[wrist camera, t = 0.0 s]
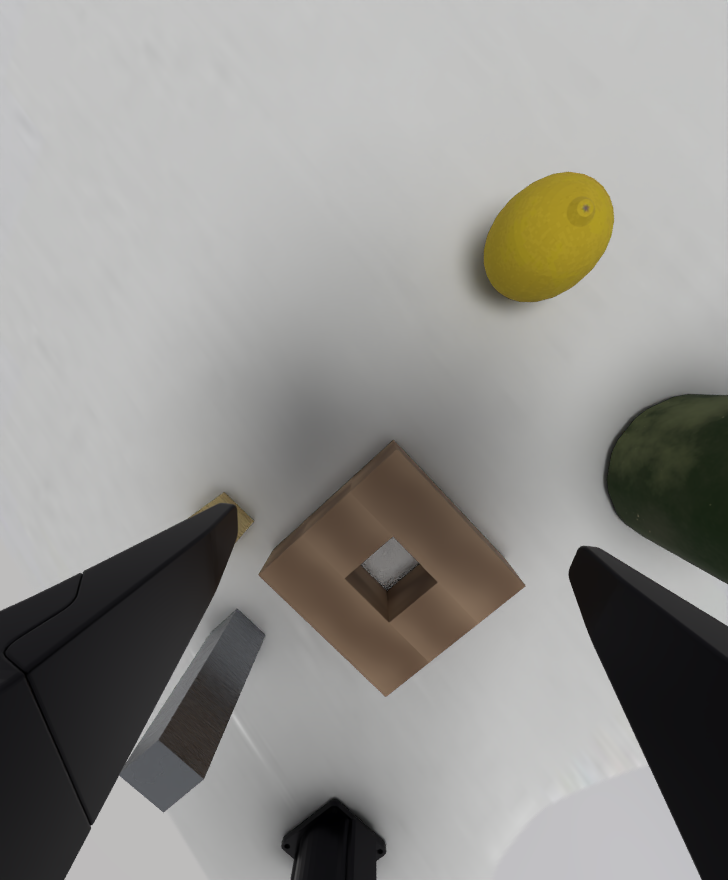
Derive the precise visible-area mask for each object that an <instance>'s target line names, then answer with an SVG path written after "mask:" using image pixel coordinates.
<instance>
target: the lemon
mask: <svg viewBox="0 0 728 880" xmlns="http://www.w3.org/2000/svg"><path fill="white" fill-rule="evenodd" d="M613 223H614V212H613V206H612V203H611V200H610V196H609V195H608V193H607V192H606V190H605V189H604V187H603V186H602V185H601V184H600V183H599V182H597V181H596V180H595V179H594V178H591V177H589V176H587V175H585V174H580V173H573V172H564V173H556V174H552V175H549V176H547V177H545V178H542V179H540V180H538V181H535V182H533V183H532V184H530V185H529V186H527V187H526V188H525V189H523V190H522V191H521V192H519V193H518V194H517V195H515V196H514V197H513V198H512V199H511V200H510V201H509V202H508V203H507V204H506V206H505V207H504V208H503V209H502V210H501V212H500V213H499V214H498V215H497V217H496V219H495V221H494V223H493V225H492V227H491V229H490V231H489V233H488V236H487V239H486V244H485V248H484V266H485V270H486V274H487V277H488V279H489V281H490V282H491V284H492V286H493V287H494V288H495V289H496V290H497V291H498V292H499V293H500V294H502V295H504V296H505V297H507V298H509V299H512V300H516V301H519V302H538V301H541V300H545V299H549V298H553V297H555V296H557V295H559V294H561V293H563V292H565V291H566V290H568V289H570V288H572V287H573V286H574V285H576V284H577V283H578V282H579V281H580V280H581V279H582V278H584V277H585V276H586V275H587V274H588V273H589V272H590V271H591V270H592V269H593V268H594V266H595V265H596V263H597V262H598V261H599V259H600V258H601V256H602V255H603V254H604V252H605V250H606V248H607V245H608V243H609V240H610V238H611V235H612V229H613Z"/></svg>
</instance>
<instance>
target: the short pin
mask: <svg viewBox="0 0 728 880" xmlns="http://www.w3.org/2000/svg"><path fill="white" fill-rule="evenodd" d="M218 503H228V504H234V505H236V507H237V516H238V535H237V539H236V541H237V540H238V539H239V538H240V537H241V536H242V535H243V533H244V532H245V531H246V530H247V529H248V528H249V526H250V525H251V524H252V523H253V522H254V521H253V520H252V519H251V518H250V517H249V516H248V515H247V514H246V513H245V512H244V511H243V510H242V509H241V508H240V507H239V506H238V505H237V504H236V503H235V502H234V501H233V500H232V499H231V498H230V497H229V496H228V495H227V494H226V493H225V492H224V493H222V494H221V495H220V496H218V497H217V498H216V499H214V500H213V501H211V502H210V503H209V504H207V505H206V506H204V507H203V508H202V509H200V510H199V511H198V512H196V513H195V514H193V515H192V516H194V515H196V514H198V513H200V512H202V511H204V510H206V509H208V508H210V507H212V506H214V505H216V504H218ZM192 516H191V517H192ZM189 518H190V517H189ZM235 543H236V542H235Z"/></svg>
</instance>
